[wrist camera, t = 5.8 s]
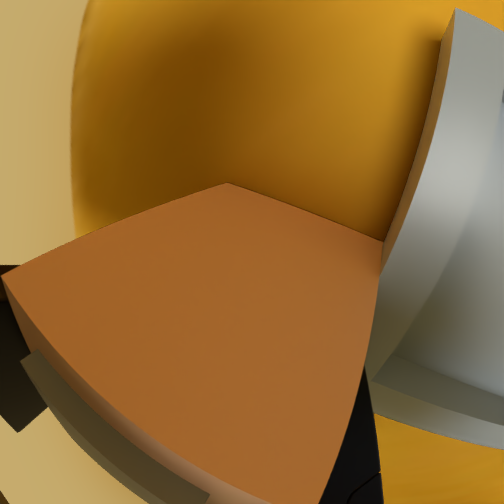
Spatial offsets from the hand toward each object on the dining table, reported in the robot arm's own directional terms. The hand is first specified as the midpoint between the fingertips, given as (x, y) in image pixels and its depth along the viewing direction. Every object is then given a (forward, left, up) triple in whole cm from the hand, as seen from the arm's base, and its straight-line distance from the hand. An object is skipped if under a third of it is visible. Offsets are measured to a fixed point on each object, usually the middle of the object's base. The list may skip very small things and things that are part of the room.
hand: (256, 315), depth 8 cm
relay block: (0, 0, -2) cm, 2 cm away
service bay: (+4, -7, -2) cm, 8 cm away
